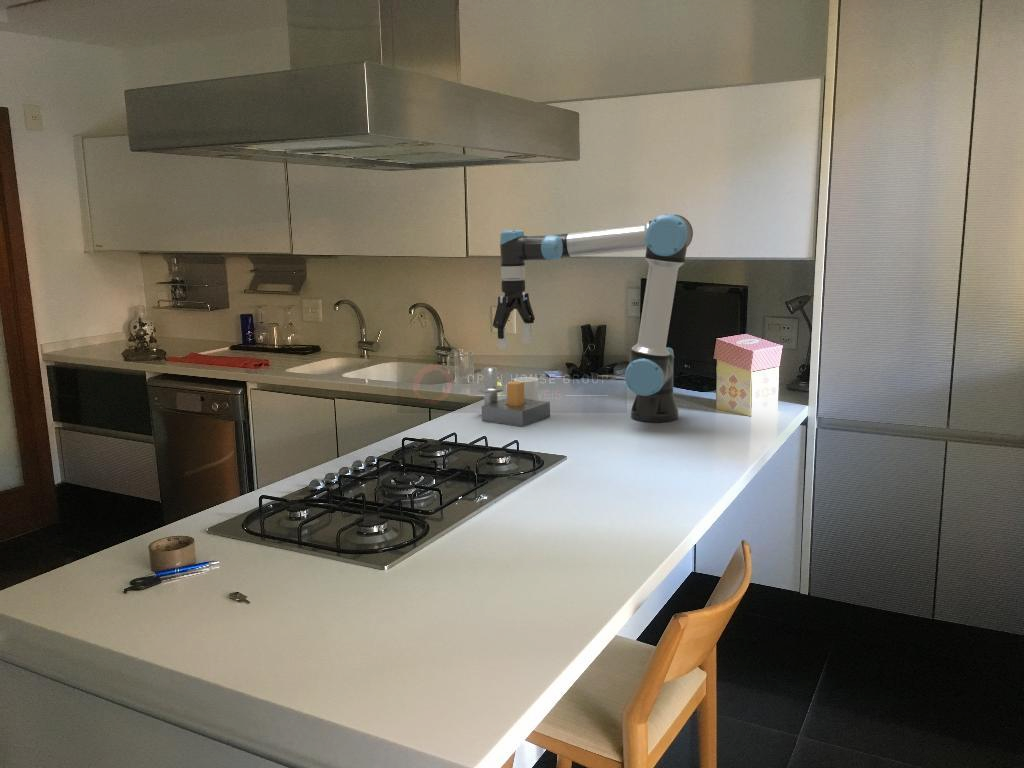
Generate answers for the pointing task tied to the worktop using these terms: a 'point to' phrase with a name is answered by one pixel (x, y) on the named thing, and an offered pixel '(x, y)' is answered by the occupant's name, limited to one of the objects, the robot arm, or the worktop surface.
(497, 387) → the grey peg stand
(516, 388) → the tall orange block
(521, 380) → the cup
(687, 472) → the worktop surface
